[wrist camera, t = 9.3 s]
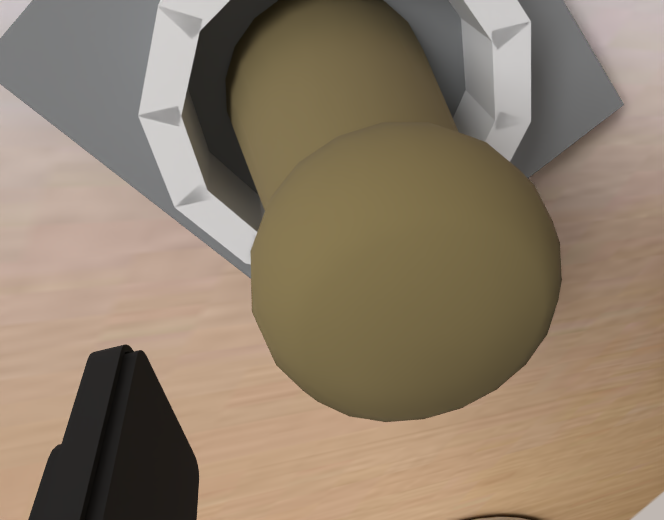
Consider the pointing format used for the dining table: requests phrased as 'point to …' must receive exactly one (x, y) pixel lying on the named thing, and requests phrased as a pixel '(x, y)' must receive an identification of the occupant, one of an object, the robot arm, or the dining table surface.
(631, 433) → the dining table surface
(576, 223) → the dining table surface
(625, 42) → the dining table surface
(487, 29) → the mat
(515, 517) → the robot arm
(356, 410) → the cork
